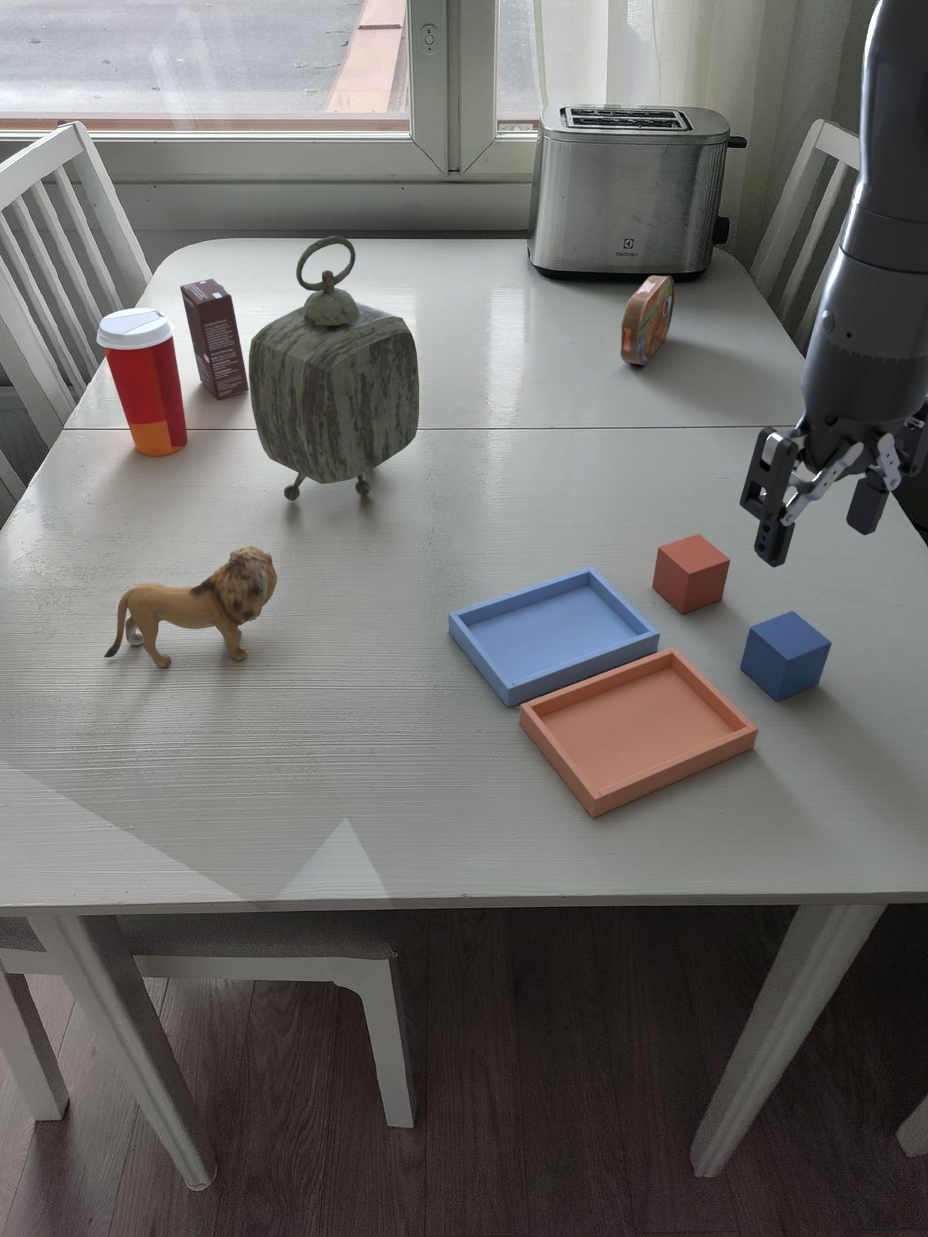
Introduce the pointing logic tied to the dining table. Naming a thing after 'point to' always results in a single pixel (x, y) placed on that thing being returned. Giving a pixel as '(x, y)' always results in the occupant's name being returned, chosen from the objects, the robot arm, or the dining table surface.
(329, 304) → the tabletop clock
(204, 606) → the lion figurine
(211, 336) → the box
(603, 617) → the blue tray
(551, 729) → the clay tray
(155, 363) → the paper cup
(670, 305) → the tin
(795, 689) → the blue block
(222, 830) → the dining table surface
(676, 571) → the terracotta block
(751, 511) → the robot arm
